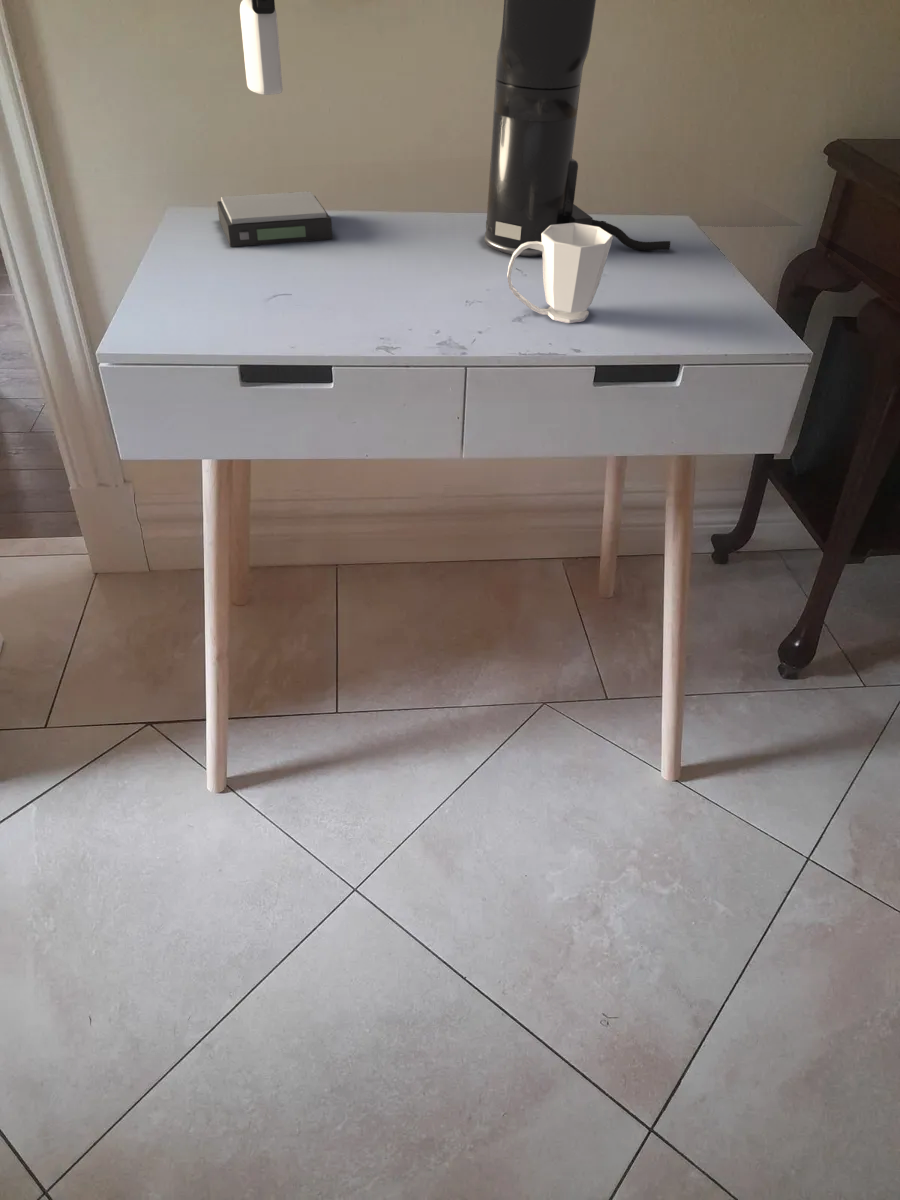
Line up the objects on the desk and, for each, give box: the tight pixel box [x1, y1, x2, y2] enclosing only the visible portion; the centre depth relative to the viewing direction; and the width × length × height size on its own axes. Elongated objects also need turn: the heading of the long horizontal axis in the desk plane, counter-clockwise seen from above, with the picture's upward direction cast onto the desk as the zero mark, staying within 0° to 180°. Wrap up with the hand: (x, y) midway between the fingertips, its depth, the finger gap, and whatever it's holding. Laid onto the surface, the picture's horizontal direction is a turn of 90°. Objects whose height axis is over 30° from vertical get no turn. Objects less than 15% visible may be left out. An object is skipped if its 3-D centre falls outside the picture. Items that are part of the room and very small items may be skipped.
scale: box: [216, 190, 333, 248], centre depth 106 cm, size 12×9×3 cm
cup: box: [506, 223, 614, 324], centre depth 89 cm, size 7×10×8 cm
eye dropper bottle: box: [239, 0, 283, 96], centre depth 93 cm, size 4×6×12 cm
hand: (258, 7), depth 92 cm, fingers closed on eye dropper bottle, 5 cm apart
